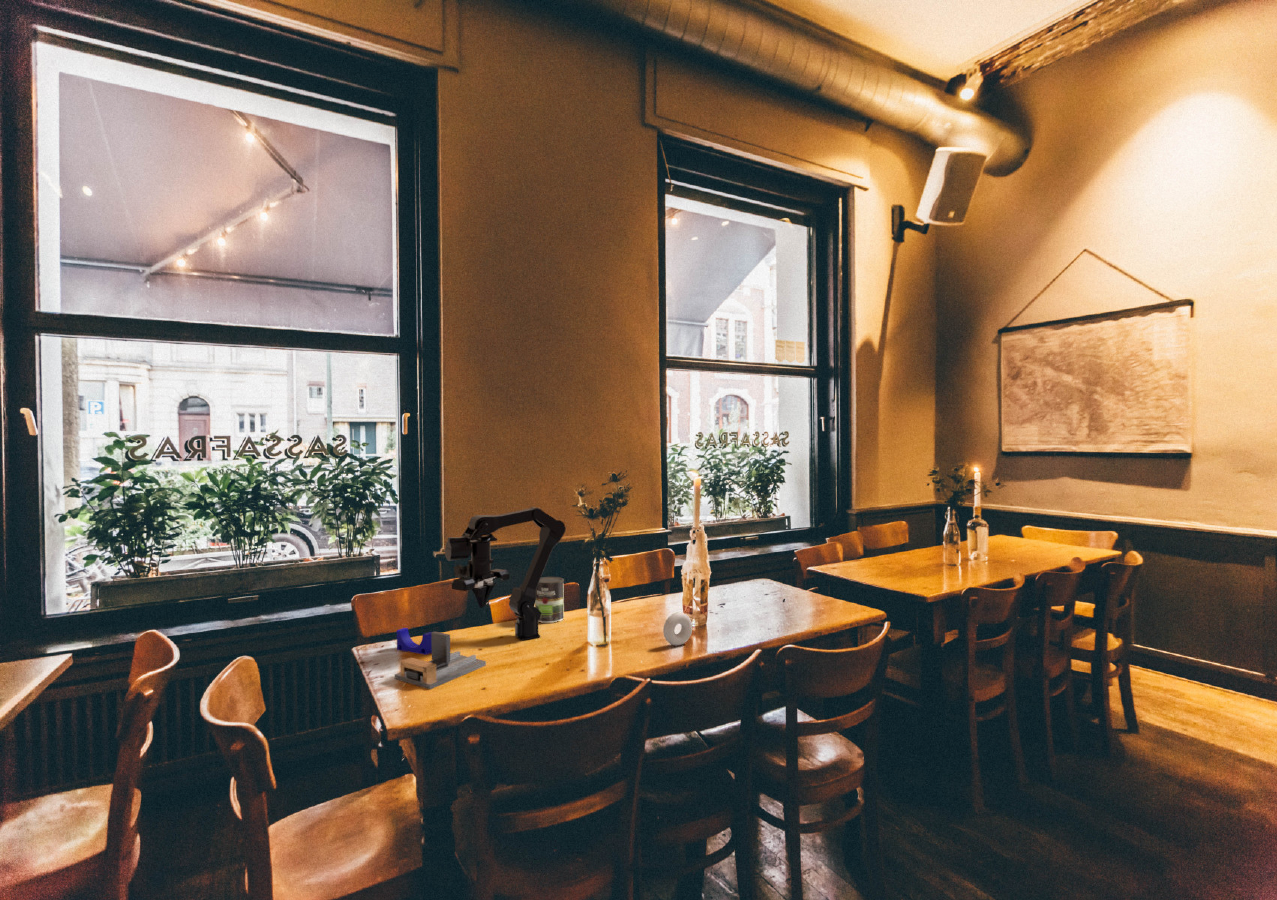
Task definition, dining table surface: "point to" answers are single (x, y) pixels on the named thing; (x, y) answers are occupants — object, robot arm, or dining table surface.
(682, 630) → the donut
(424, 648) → the blue saddle bracket
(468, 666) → the rail base
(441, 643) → the metal angle bracket
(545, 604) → the coffee can
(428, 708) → the dining table surface
